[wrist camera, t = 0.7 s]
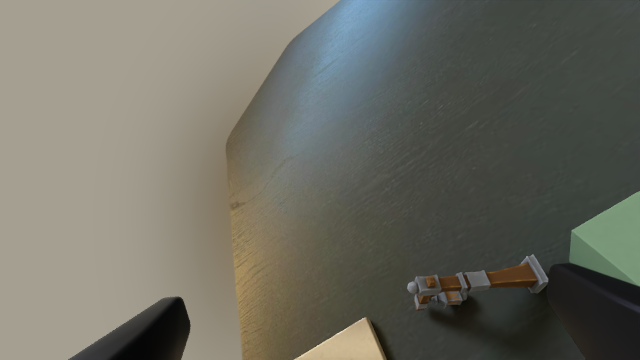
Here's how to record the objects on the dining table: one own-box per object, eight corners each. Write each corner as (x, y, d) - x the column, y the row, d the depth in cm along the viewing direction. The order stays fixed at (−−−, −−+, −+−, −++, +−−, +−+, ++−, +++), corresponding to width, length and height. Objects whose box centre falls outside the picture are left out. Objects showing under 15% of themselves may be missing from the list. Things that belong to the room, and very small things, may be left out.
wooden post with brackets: (400, 295, 22) (405, 269, 19) (509, 281, 22) (534, 252, 19) (406, 320, 21) (413, 297, 18) (522, 307, 21) (551, 280, 17)
